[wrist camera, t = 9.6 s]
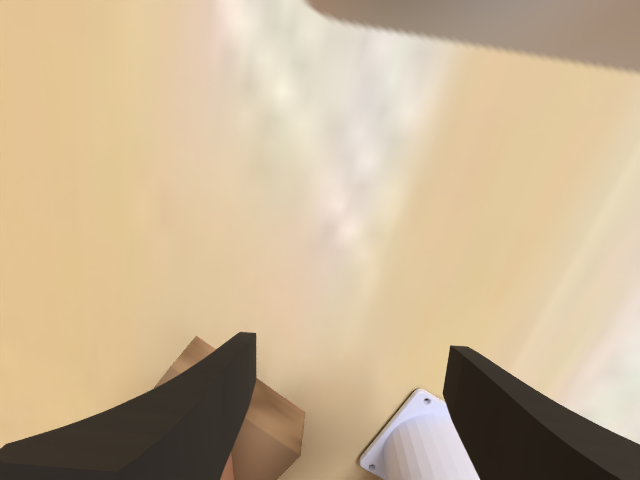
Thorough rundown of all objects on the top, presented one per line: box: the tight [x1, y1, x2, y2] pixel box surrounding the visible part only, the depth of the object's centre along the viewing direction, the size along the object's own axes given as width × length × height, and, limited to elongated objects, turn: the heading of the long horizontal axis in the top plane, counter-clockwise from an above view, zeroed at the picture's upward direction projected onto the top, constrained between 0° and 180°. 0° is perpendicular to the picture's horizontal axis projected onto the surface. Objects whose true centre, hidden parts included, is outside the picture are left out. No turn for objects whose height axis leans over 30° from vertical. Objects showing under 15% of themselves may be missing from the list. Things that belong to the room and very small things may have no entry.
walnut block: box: [155, 336, 305, 480], centre depth 22 cm, size 10×10×4 cm
